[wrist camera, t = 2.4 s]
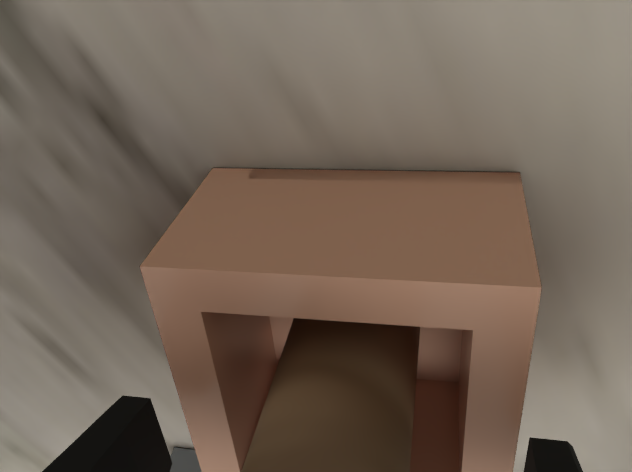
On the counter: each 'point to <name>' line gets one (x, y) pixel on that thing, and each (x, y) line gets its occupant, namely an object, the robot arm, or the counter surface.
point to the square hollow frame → (352, 298)
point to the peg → (339, 400)
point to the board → (184, 461)
